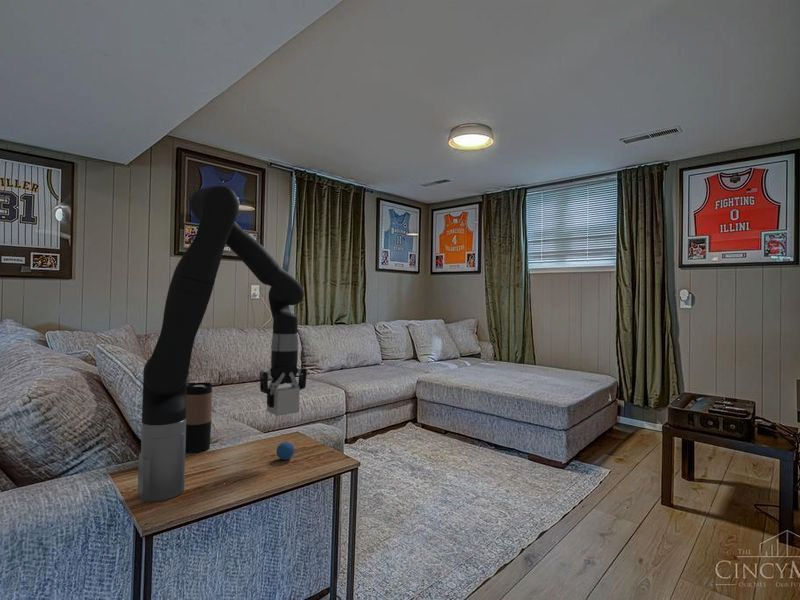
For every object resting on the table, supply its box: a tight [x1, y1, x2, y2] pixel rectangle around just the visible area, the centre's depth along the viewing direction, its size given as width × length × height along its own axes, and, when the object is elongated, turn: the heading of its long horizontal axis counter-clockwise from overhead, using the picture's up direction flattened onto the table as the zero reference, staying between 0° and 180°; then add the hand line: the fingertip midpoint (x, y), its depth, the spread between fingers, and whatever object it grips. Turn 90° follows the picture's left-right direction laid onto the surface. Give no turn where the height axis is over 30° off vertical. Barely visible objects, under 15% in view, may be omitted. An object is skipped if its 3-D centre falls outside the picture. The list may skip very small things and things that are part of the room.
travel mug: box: [185, 382, 213, 454], centre depth 130 cm, size 8×8×20 cm
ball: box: [276, 441, 295, 461], centre depth 123 cm, size 5×5×5 cm
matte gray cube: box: [266, 384, 301, 417], centre depth 124 cm, size 7×7×7 cm
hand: (283, 405), depth 124 cm, fingers closed on matte gray cube, 7 cm apart
